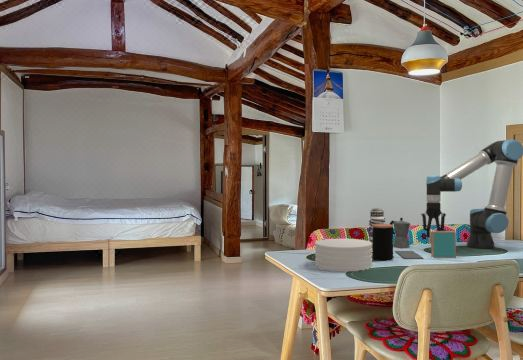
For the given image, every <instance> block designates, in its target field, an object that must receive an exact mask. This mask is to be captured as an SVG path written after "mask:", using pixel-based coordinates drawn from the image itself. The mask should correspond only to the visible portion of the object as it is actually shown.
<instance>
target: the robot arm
mask: <svg viewBox="0 0 523 360" xmlns="http://www.w3.org/2000/svg"><path fill="white" fill-rule="evenodd" d="M522 157H523V145H522V143H521V142H520V141H519V140H517V139H506V140H497V141H494V142H492V143H490V144H488V145H487V146H486V147H484V148H483V149H481V150H479V152H478V154H476V155H474V156H473V157H471V158H469V159H468V160H467V161H465V162H462V163H461V164H460V165H459V166H456V167H454V168H453V169H452V170H450V171H448V172H447V173H445V174H443V175H442V176H441V175H438V174H437V175H435V174H434V175H433V174H432V175H431V174H430V175H427V176H426V183H425V184H426V185H425V186H426V210H425V212H423V213H421V214H420V215H421V216H422V227H423V228H422V229H423V231H426V238H427V242H428V243H429V244H430V243H431V227H432V221H433V219H434V220H435V226H436V231H445V221H446V219H445V217H446V216H447V214H446V213H445V212H442V211H441V210H442V209H441V207H442V205H441V193H442V192H444V193H445V192H449V193H450V192H453V193H456V192H460V191H461V190H462V188H463V181H462V180H463V179H464V178H466V177H468V176H469V175H471V174H473V173H475V172H476V171H477V170H480V169H481V168H483V167H484V166H486V165H491V164H492V163H495V165H496V167H495V173H494V176H493V180H492V186H491V191H490V194H489V200H488V204H487V205H486V206H485V207H484V208H472V209H470V211H469V236H468V238H467V241H466V246H467V247H468V248H473V249H482V250H483V249H487V250H488V249H494V248H495V242H494V239H493V237H492V236H493V235H492V234H501V233H502V232H504V231H506V230H507V228H508V226H509V219H508V216H507V213H508V211H507V209H506V203H507V199H508V195H509V194H508V193H509V188H510V184H511V180H512V175H513V170H514V167H516V166H517V164H518V162H519V160H520V159H521V158H522ZM440 216H441V218H440ZM427 217H428V221H427Z"/></svg>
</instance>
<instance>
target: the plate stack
mask: <svg viewBox="0 0 523 360" xmlns="http://www.w3.org/2000/svg"><path fill="white" fill-rule="evenodd" d="M314 246H315V247H314V250H315V252H314V254H315V255H314V256H315V258H314V259H315V260H314V261H315V264H314V265H316V266H317V267H316V266H315V267H316V268H318V267H319V269H321V268H322V269H321V270H325V269H327V270H326V271H332V270H333V271H334V272H358V271H359V270H362V271H365V269H367V270H369V268H370V269H372V268H371V267H373V253H372V248H371V247H372V243H371V241H370V240H369V241H368V240H365V239H357V238H326V239H320V240H316V241H315V242H314ZM333 271H332V272H333ZM359 272H360V271H359Z"/></svg>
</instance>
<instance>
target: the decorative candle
mask: <svg viewBox="0 0 523 360" xmlns="http://www.w3.org/2000/svg"><path fill="white" fill-rule="evenodd" d="M369 212H370V216H369V218H370V220H369V221H368V222H369V223H368V225H369V232H370V237H369V242H371V243H372V247H371V248H372V251H373V236H372V230H373V226H372V225H374V224H385V223H386V218H385V215H384V214H385V211H384V210H383V209H382V208H378V207H377V208H375V207H373V208H371V210H370V211H369Z"/></svg>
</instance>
